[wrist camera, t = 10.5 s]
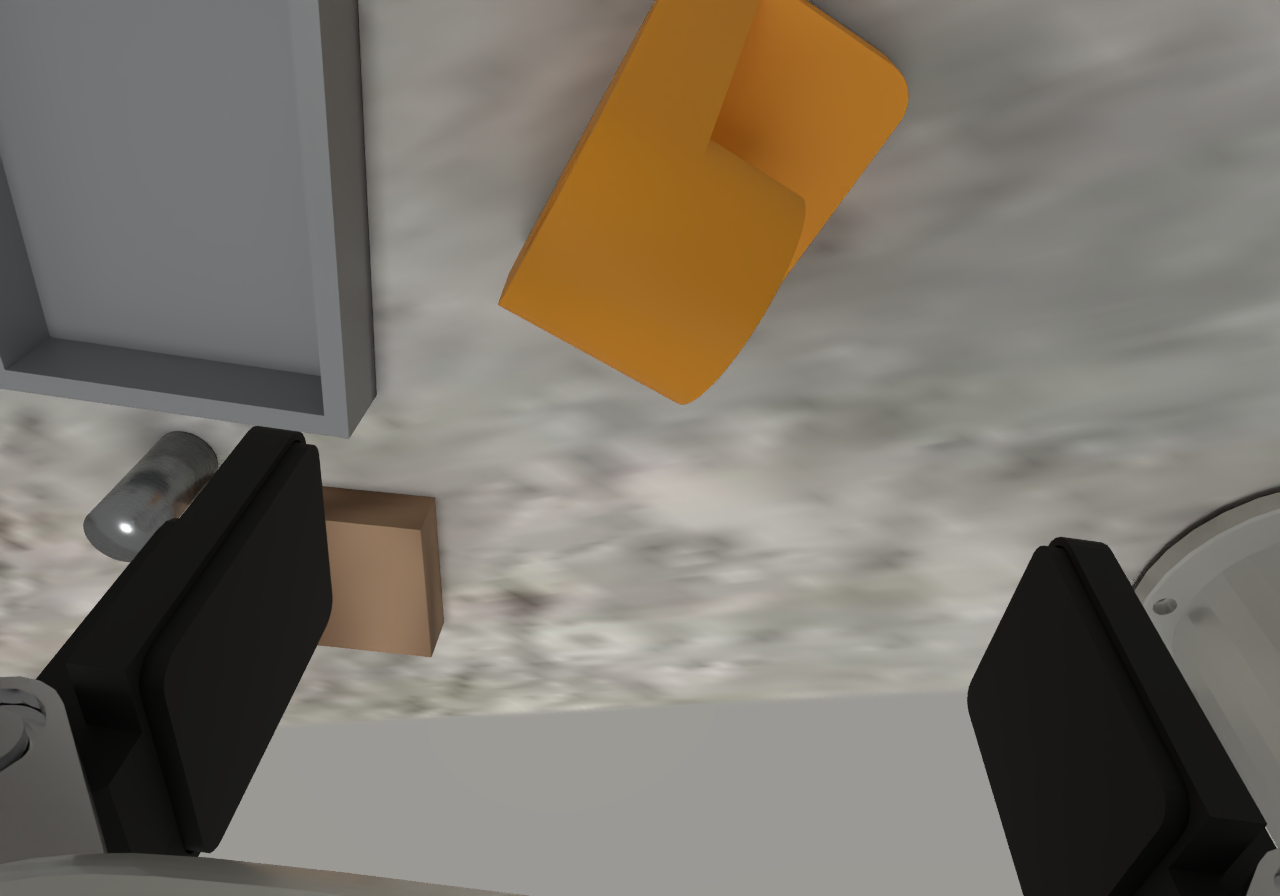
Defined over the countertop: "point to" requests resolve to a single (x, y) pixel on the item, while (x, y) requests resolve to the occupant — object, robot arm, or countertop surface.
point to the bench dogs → (150, 495)
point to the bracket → (703, 185)
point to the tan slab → (383, 572)
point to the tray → (187, 209)
